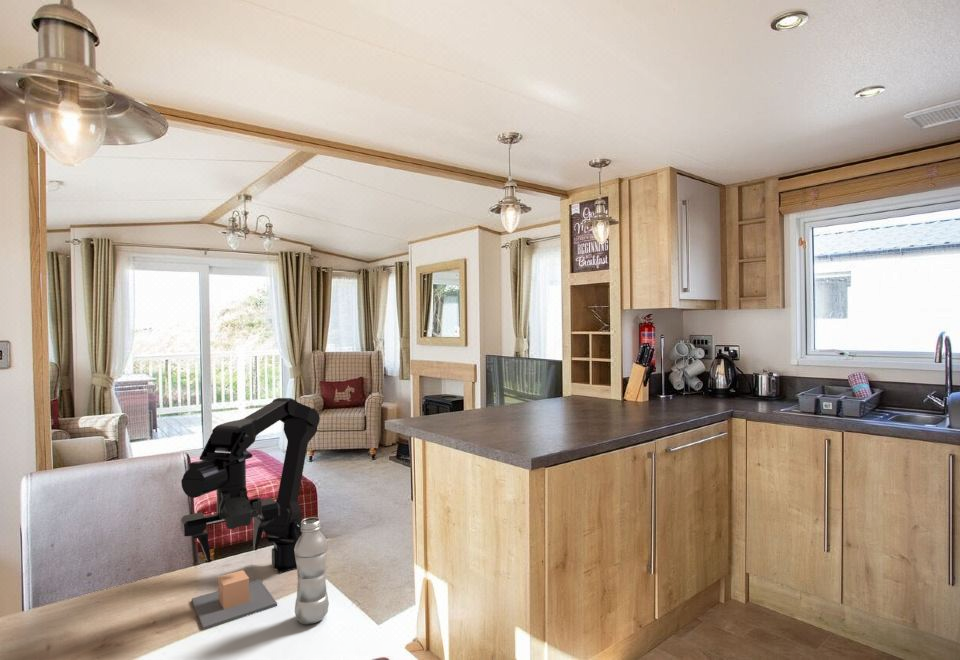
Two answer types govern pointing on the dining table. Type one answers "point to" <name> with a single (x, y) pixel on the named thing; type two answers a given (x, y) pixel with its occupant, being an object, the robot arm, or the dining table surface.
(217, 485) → the robot arm
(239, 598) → the peach block
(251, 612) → the charcoal mat
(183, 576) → the dining table surface
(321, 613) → the plastic bottle
